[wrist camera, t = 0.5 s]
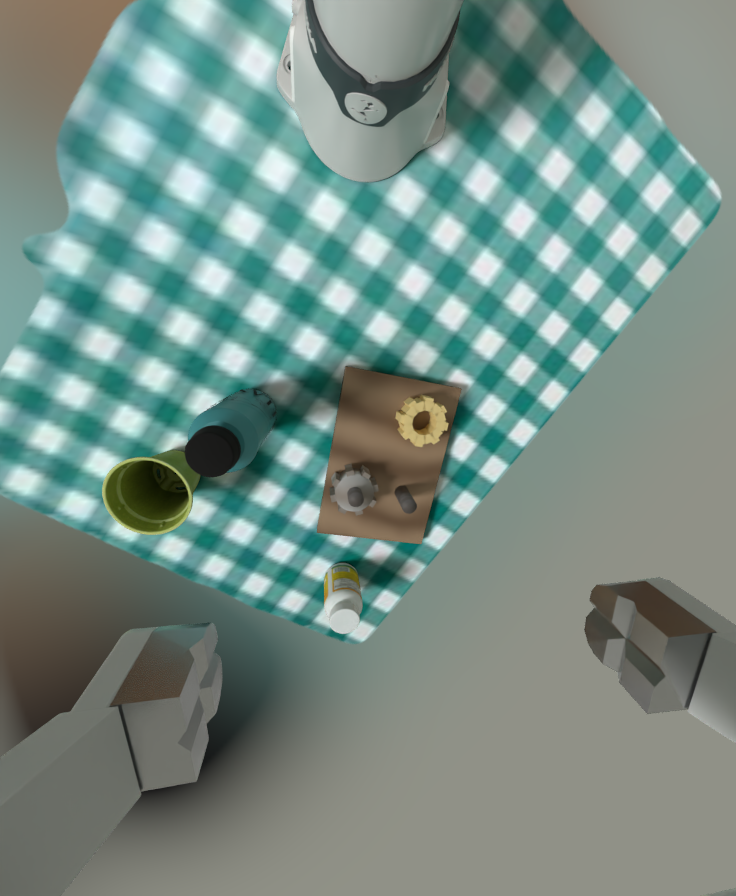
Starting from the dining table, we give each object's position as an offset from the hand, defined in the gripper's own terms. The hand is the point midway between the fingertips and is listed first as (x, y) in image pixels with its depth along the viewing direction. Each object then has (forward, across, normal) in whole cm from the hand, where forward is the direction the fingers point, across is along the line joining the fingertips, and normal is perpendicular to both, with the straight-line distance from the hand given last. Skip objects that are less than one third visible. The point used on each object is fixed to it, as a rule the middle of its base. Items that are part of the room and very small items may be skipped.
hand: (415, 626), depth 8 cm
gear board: (+43, -7, +10) cm, 45 cm away
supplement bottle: (+43, 0, +30) cm, 52 cm away
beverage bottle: (+43, +11, +3) cm, 44 cm away
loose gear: (+41, -11, +4) cm, 43 cm away
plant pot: (+43, +22, +11) cm, 49 cm away
